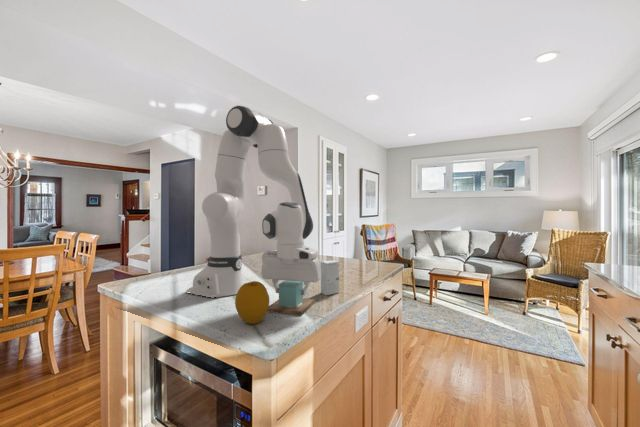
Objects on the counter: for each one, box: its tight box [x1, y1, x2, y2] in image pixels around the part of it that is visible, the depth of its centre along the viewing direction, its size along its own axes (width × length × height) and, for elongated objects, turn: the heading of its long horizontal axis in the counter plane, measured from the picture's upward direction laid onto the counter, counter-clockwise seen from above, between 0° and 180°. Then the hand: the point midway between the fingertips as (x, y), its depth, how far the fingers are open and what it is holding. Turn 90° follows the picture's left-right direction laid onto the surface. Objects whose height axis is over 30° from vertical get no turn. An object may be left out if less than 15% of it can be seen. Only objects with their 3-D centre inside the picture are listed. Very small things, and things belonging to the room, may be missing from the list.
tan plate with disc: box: [267, 298, 315, 316], centre depth 94 cm, size 12×12×4 cm
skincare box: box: [320, 259, 340, 296], centre depth 110 cm, size 6×4×12 cm
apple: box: [234, 280, 270, 325], centre depth 83 cm, size 10×10×12 cm
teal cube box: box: [278, 280, 304, 307], centre depth 94 cm, size 6×6×7 cm
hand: (291, 293), depth 94 cm, fingers open, 8 cm apart
